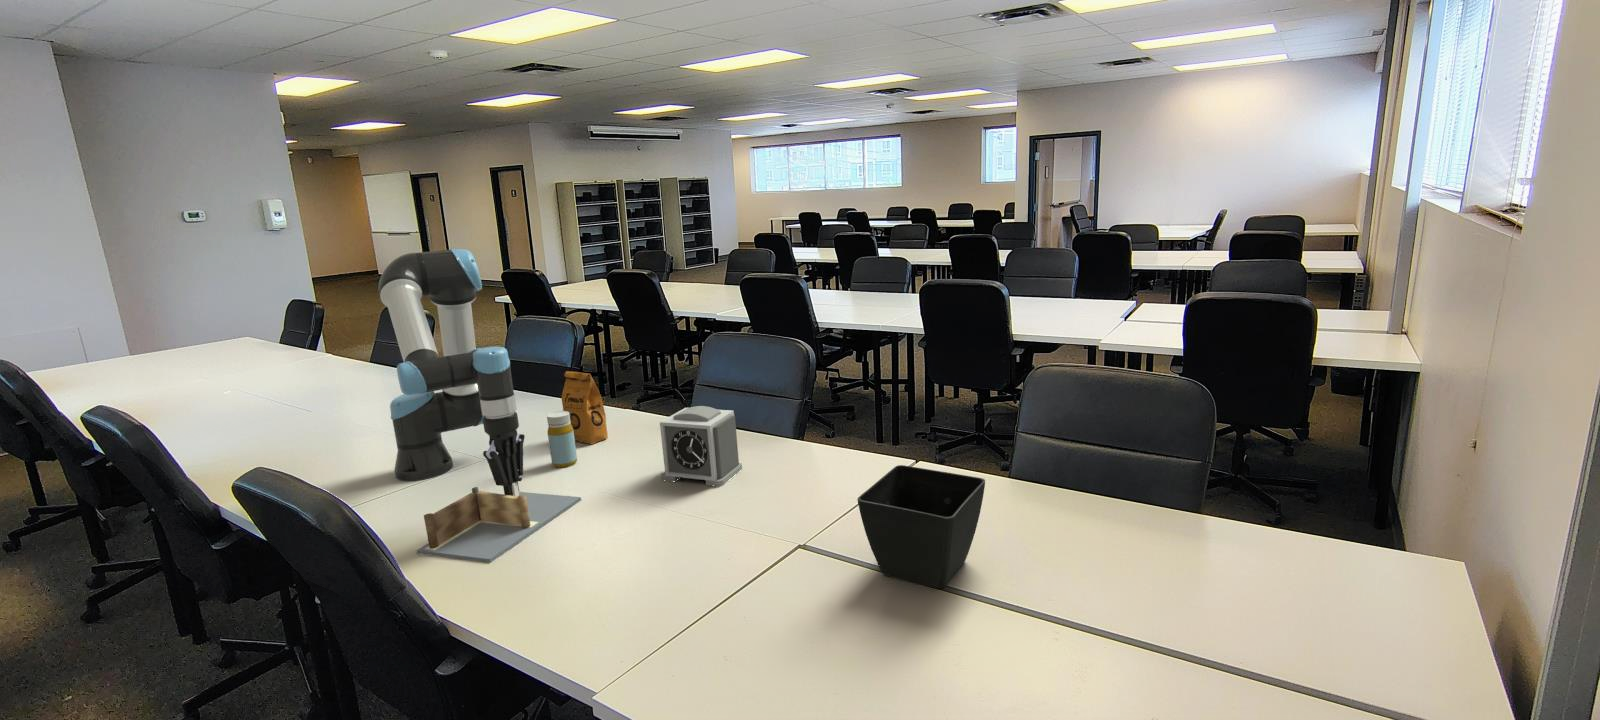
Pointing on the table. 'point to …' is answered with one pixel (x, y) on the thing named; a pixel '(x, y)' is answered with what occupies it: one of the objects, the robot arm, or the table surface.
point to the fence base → (452, 519)
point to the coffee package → (584, 407)
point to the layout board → (501, 531)
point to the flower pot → (921, 522)
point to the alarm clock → (700, 445)
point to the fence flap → (503, 508)
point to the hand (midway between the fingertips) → (514, 508)
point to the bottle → (561, 439)
